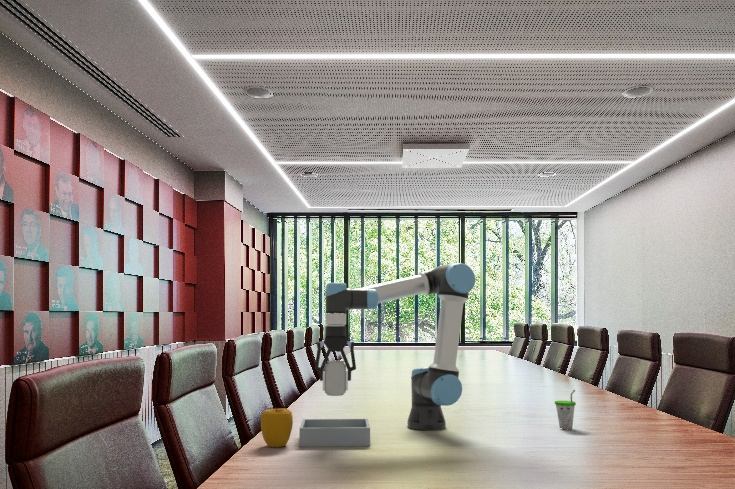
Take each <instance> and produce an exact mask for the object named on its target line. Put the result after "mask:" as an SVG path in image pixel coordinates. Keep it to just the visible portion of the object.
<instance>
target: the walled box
mask: <svg viewBox="0 0 735 489" xmlns="http://www.w3.org/2000/svg"><path fill="white" fill-rule="evenodd" d="M369 421H370V420H369V419H368V418H303V419H302V420H301V423H300V426H299V443H298V445H299V447H371V426H370V422H369Z"/></svg>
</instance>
